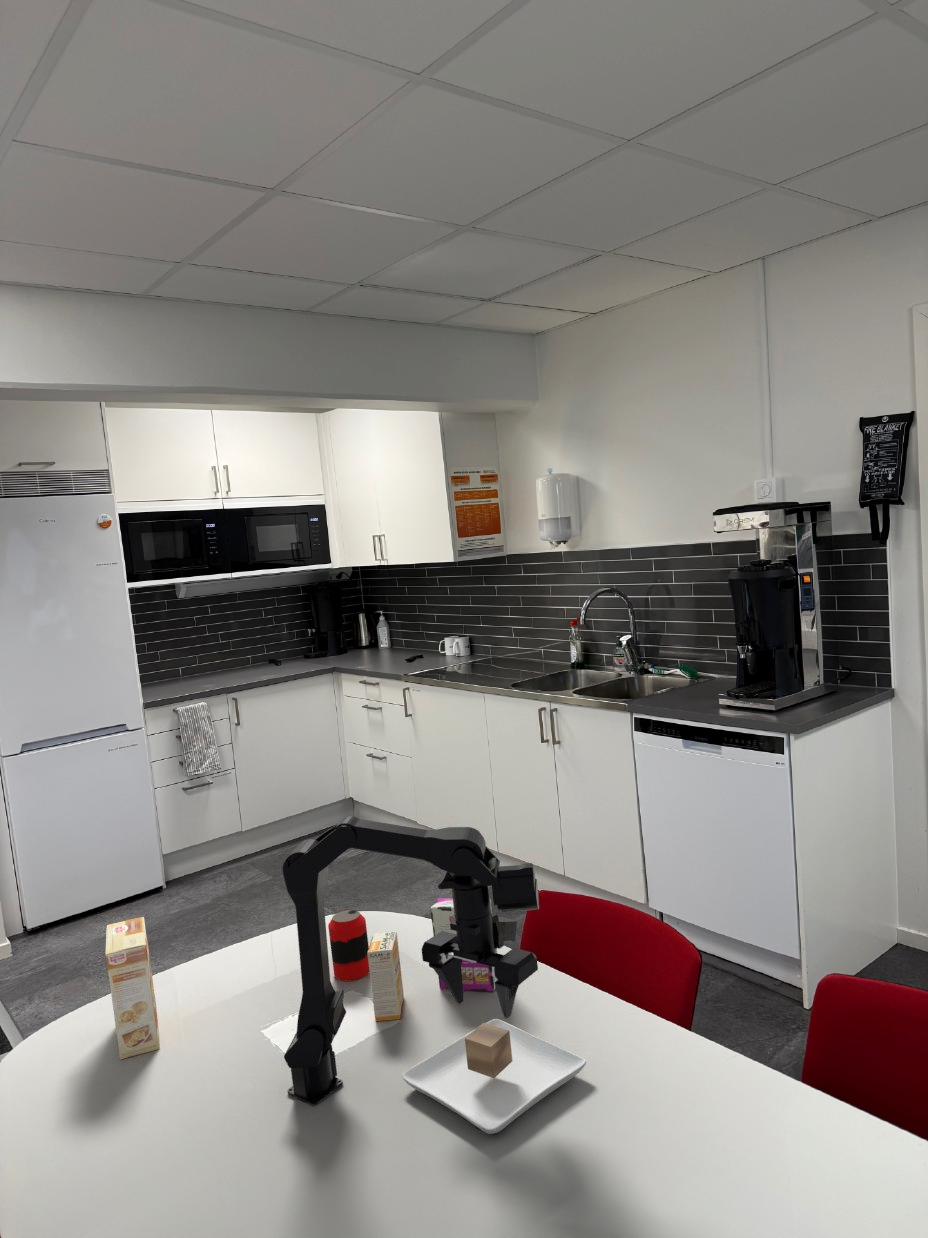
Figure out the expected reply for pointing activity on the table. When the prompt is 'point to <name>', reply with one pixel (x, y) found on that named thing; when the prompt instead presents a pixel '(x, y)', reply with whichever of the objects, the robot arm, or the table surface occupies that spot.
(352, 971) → the soda can
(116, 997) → the coffeecake box
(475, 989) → the candy bar box
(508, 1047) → the walnut cube
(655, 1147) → the table surface
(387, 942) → the supplement box
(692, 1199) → the table surface
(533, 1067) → the salad plate
